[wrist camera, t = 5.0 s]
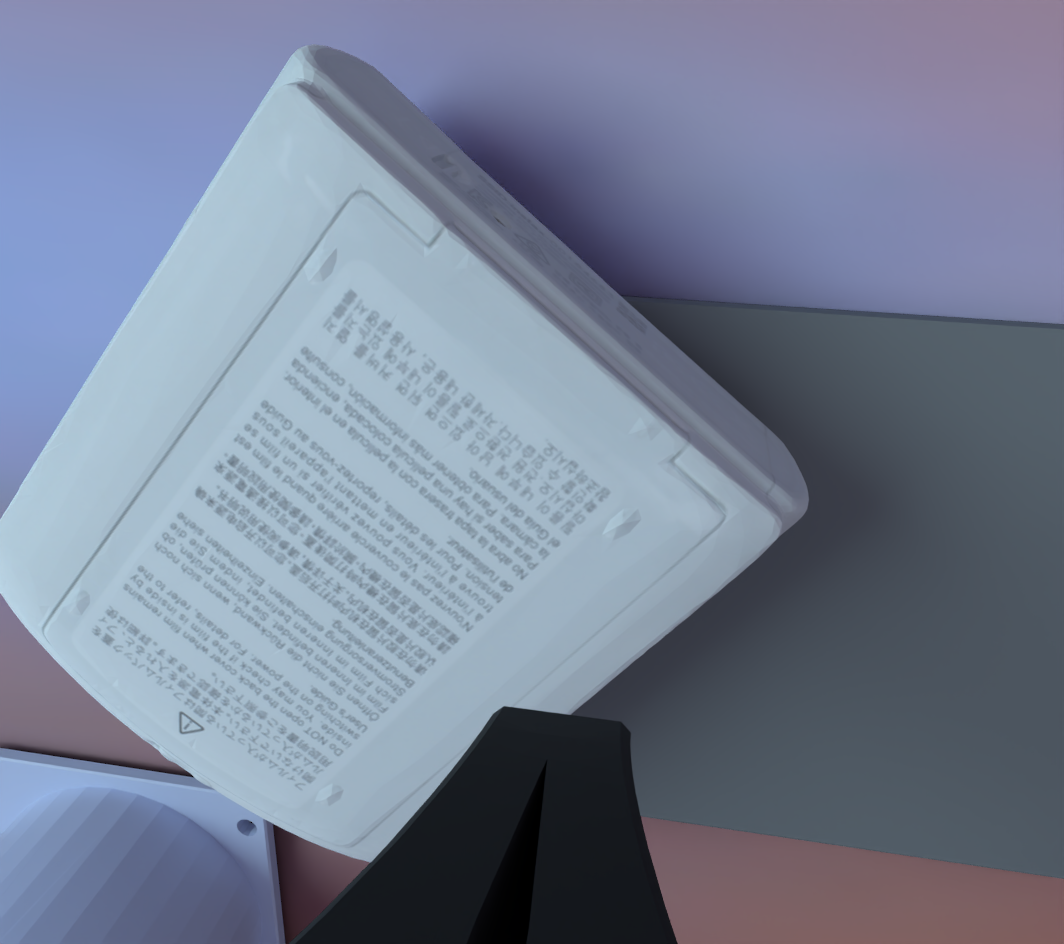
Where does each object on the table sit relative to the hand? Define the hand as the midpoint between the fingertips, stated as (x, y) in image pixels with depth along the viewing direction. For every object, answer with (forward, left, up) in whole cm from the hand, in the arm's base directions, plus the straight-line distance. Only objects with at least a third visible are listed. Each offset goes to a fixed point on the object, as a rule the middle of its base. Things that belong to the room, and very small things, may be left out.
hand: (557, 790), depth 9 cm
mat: (-2, -2, -9) cm, 9 cm away
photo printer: (+4, +1, -6) cm, 8 cm away
